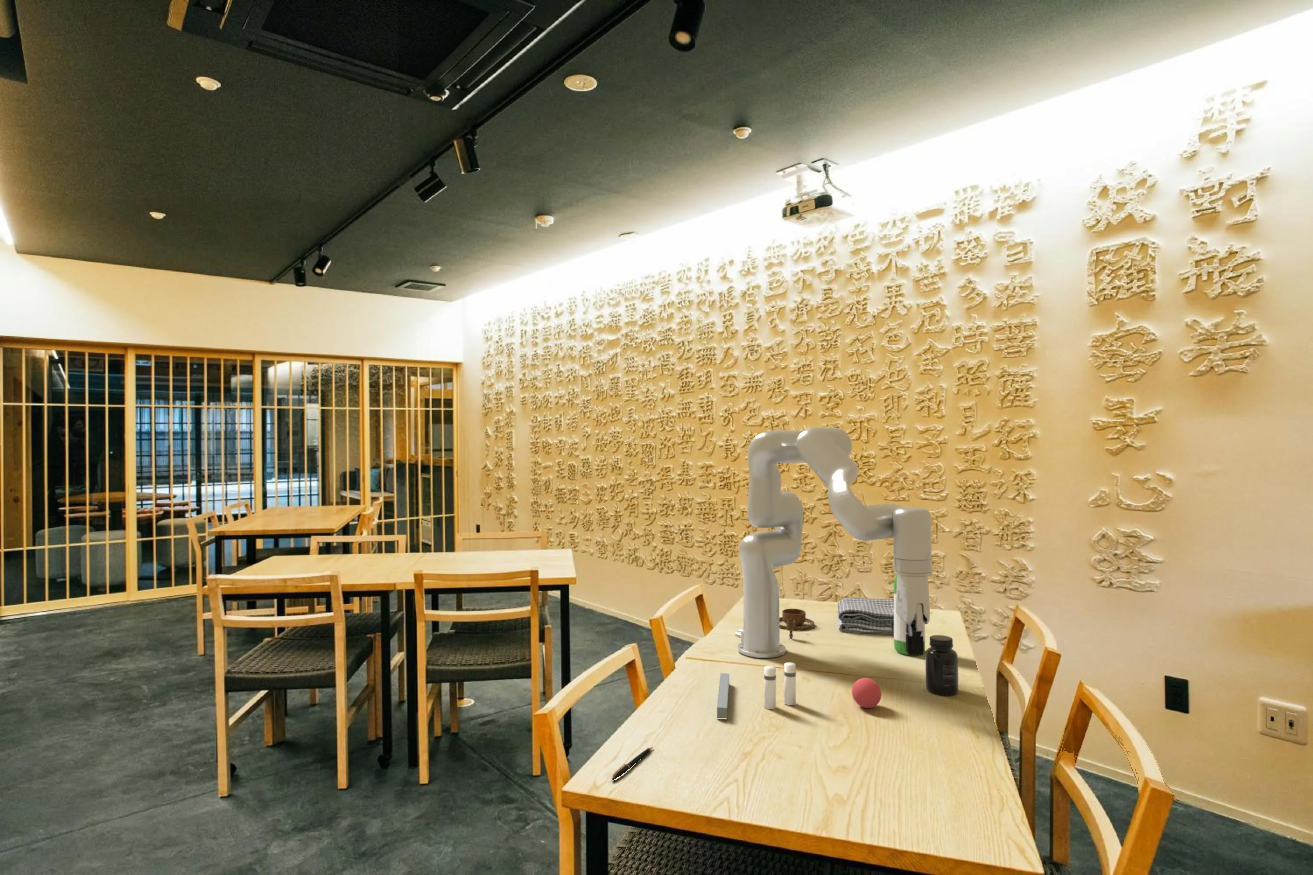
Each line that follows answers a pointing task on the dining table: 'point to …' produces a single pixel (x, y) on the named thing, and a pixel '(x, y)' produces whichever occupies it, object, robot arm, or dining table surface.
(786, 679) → the pin
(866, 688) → the ball
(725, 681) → the gray square bar
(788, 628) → the place setting
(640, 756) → the fountain pen
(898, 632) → the wine bottle
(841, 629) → the towel
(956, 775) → the dining table surface
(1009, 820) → the dining table surface
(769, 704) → the pin
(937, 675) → the supplement bottle
